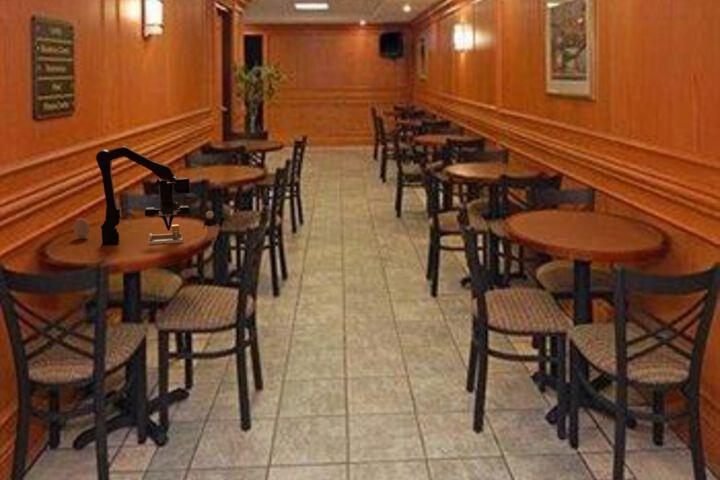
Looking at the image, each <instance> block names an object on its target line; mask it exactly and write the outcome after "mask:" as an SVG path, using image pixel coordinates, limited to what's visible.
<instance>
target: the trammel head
mask: <svg viewBox="0 0 720 480" xmlns="http://www.w3.org/2000/svg"><path fill="white" fill-rule="evenodd" d="M171 231H172V232H171V234H175V238H177V234H179V233H180V225H179V224H171Z"/></svg>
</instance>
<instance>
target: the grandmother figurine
mask: <svg viewBox="0 0 720 480" xmlns="http://www.w3.org/2000/svg"><path fill="white" fill-rule="evenodd" d="M205 216H206V218H207V220H205V221H204V223H203V225H202V229H203V230H204V229H206V230H207V234H206V235H207V239H206V241H216V240H217V232H216V228H219V227H220V225H219V224H218V221H217V220H216V219H215V218H213V217H214V216H215V214H214V212H213V211H212V210H208V211H207V212H206V213H205ZM215 226H216V227H215Z"/></svg>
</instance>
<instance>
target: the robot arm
mask: <svg viewBox="0 0 720 480" xmlns="http://www.w3.org/2000/svg"><path fill="white" fill-rule="evenodd" d="M122 157H124V158H125V159H128V160H130V161H132V162H135V163H136V164H137V165H139V166H142V167H144V168H146V169H147V170H149V171H150V172H152V173H153V174H154V175H155V176H157V177H158V178H157V179H156V180H155V182H154V186H158V192H159V208H155V207H153V206H152V207H145V209H144V216H145V217H152V216H155V215H156V214H158V218H161V219H162V220H163V222H164V225H165V227H166V229H167V231H168V232H169V231H171V228H172V222H173V220H174V218H175V217H177V213H180V214H182V215H189V214H191V208H190V206H189V205H179V207H178V202H177V201H176V202H175V200H174V199H175V198H174V193H177V195H188V194H189V195H190V194H191V184H190V183H191V182H190V177H185V178H177V176H176V175H175V174H174V173H173V169H172V167H171V166H169V165H168V164H164V163H163V162H159V161H155V160H152V159H150V158H148V157H146V156H144V155H142V154H141V153H138V152H136V151H135V150H133V149H131V148H129V147H128V146H125V145H123V146H120V147H117V148H113V149H110V150H108V149H101V150H100V151H98V152H97V153H96V155H95V159H96V162H97V165H98V167H99V170H100V172H101V177H102V184H103V190H104V199H105V205H106V207H105V220H104V221H103V223H102V224H101V225H100V228H101V232H100V233H101V241H102V243H101V245H102V246H106V245H107V246H110V245H118V244H119V243H120V241H121V239H120V231H119V230H118V227H117V226H118V225H119V224H120V222H121V220H122V218H123V214H122V207H121V206H119V207H118V205H117V202H116V193H115V187H114V182H113V174H112V173H113V172H112V165H113V160H116V159H119V158H122ZM173 186H174V187H173ZM167 215H168V217H167Z"/></svg>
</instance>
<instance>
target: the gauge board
mask: <svg viewBox="0 0 720 480" xmlns="http://www.w3.org/2000/svg"><path fill="white" fill-rule="evenodd" d="M183 239H184V238H183V233H182V232H179V234H177V238H175V234H172V233H161V234H160V233H159V234H153V232H152V233H149V237H148V245H161V244H163V243H165V244H178V243H181V242H182V243H184V241H183ZM182 243H181V244H182Z"/></svg>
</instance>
